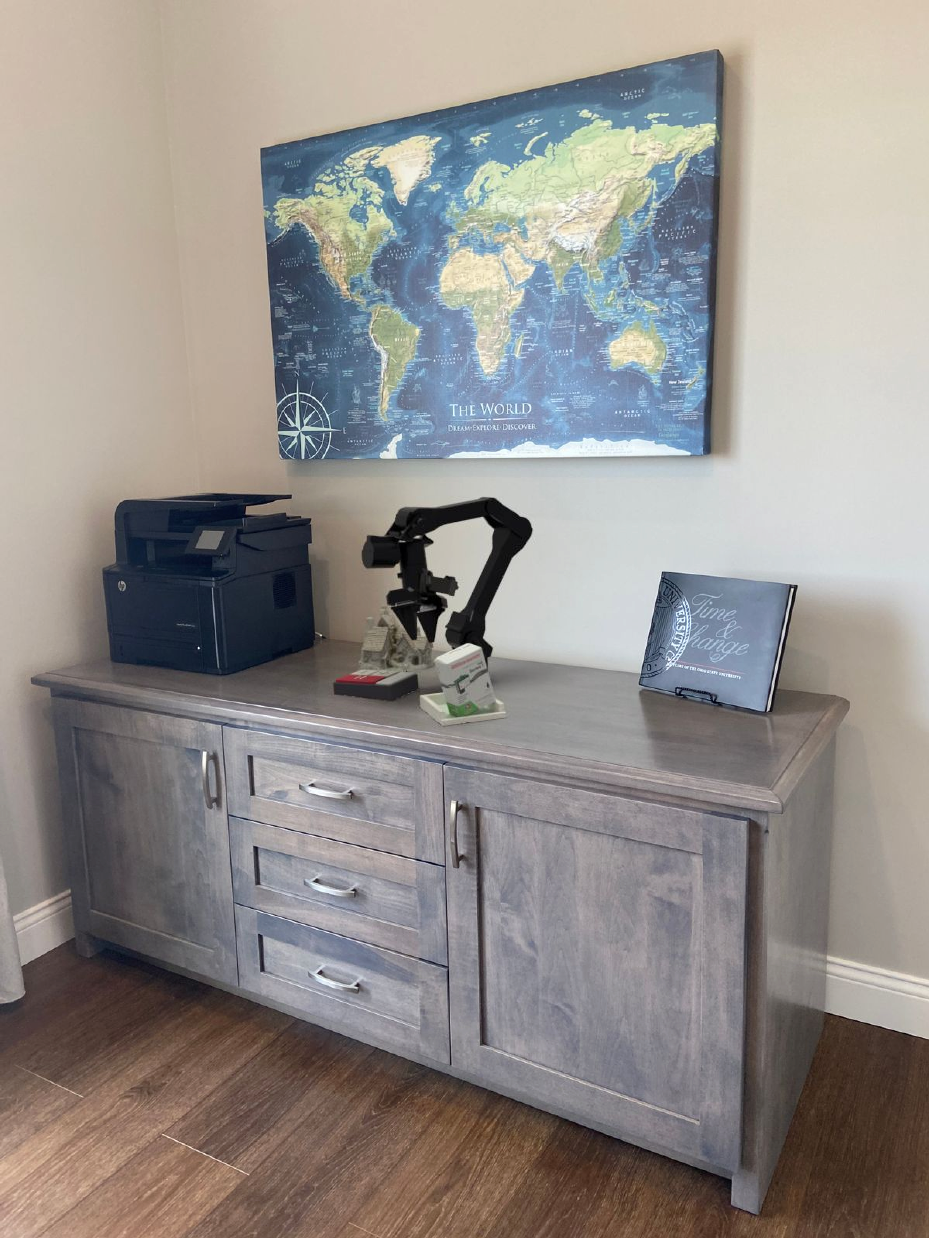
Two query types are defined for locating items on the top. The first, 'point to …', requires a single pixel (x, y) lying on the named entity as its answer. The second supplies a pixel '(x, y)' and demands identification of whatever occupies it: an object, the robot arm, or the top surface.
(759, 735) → the top surface
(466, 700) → the ink box
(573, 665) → the top surface
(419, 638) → the ceramic cottage
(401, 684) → the calculator
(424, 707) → the bay
